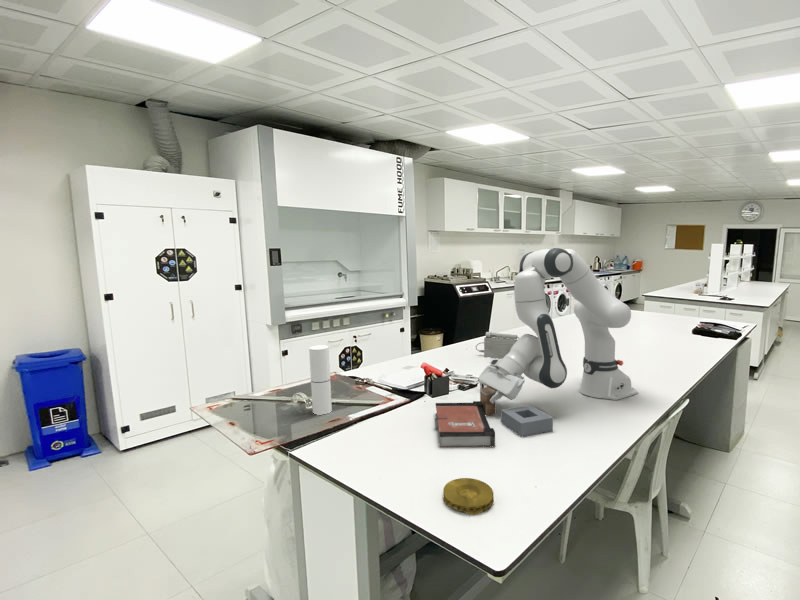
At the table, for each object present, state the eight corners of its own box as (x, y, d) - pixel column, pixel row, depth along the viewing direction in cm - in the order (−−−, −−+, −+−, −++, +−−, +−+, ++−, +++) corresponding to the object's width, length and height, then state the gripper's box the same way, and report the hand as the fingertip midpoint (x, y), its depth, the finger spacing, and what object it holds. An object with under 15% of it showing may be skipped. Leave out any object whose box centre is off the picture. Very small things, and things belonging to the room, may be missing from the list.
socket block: (530, 417, 149) (530, 405, 149) (552, 430, 138) (552, 417, 138) (500, 422, 146) (501, 409, 145) (521, 436, 134) (521, 423, 134)
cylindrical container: (315, 416, 155) (312, 350, 152) (310, 410, 161) (306, 346, 158) (334, 413, 158) (331, 347, 155) (328, 406, 164) (325, 344, 161)
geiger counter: (522, 333, 223) (477, 330, 236) (518, 336, 218) (473, 332, 231) (522, 359, 225) (477, 354, 238) (518, 362, 219) (473, 356, 233)
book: (433, 414, 155) (433, 401, 154) (481, 414, 154) (481, 401, 154) (437, 448, 129) (437, 433, 128) (495, 448, 128) (495, 432, 128)
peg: (489, 410, 157) (489, 386, 156) (495, 414, 153) (495, 390, 152) (480, 411, 156) (479, 388, 154) (485, 415, 152) (485, 391, 151)
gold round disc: (476, 522, 94) (476, 513, 94) (433, 502, 102) (433, 493, 102) (502, 497, 103) (502, 489, 103) (461, 480, 111) (461, 472, 111)
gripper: (532, 383, 147) (508, 414, 145) (499, 368, 166) (477, 395, 164) (521, 372, 145) (496, 404, 143) (489, 358, 164) (467, 386, 162)
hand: (486, 399), depth 153 cm, fingers closed on peg, 4 cm apart
